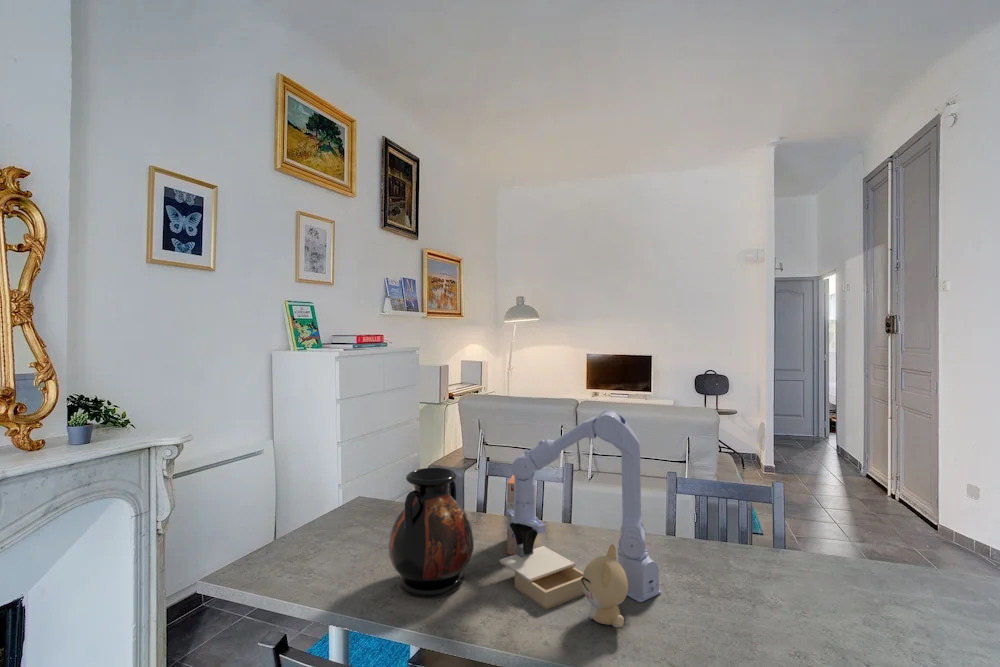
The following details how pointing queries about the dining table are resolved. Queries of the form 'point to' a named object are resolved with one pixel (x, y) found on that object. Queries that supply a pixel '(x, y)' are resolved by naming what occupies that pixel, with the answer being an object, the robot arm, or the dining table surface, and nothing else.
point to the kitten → (605, 588)
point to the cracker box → (510, 505)
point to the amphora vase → (431, 536)
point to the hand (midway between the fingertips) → (525, 551)
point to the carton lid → (536, 563)
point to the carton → (552, 587)
